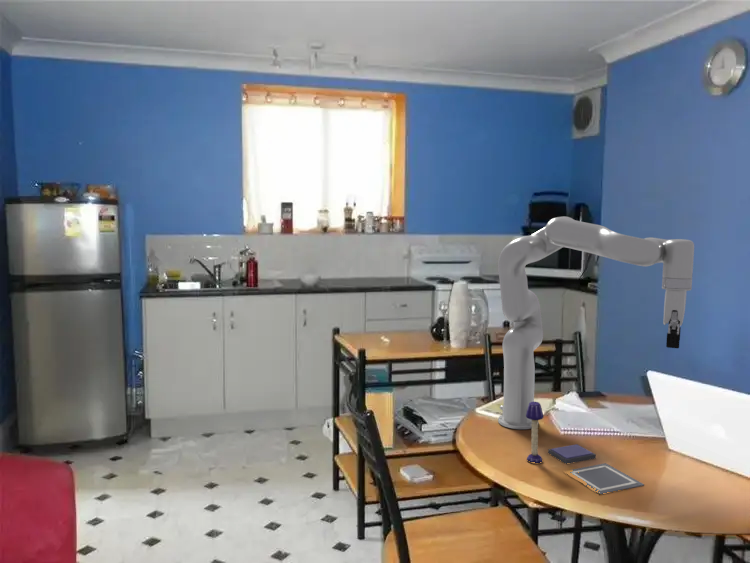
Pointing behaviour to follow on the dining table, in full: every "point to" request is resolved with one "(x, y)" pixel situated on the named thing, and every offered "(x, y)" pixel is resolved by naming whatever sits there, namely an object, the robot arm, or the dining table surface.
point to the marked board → (605, 478)
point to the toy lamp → (534, 429)
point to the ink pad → (572, 454)
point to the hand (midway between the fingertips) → (673, 344)
